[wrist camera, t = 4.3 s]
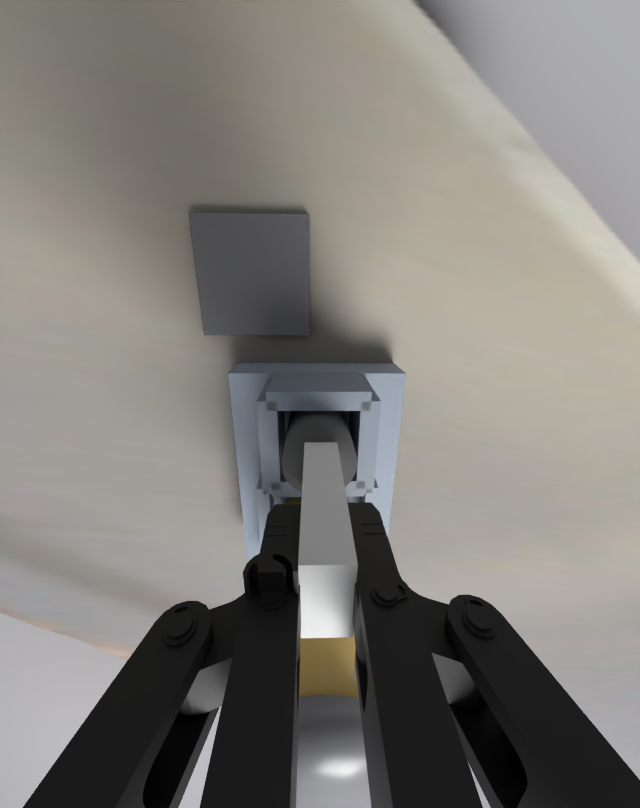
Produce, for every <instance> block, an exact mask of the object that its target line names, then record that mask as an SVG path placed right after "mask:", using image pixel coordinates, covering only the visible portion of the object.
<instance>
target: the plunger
mask: <svg viewBox="0 0 640 808" xmlns="http://www.w3.org/2000/svg"><path fill="white" fill-rule="evenodd" d="M305 442H337V444H338V450H339V456H340V462H341V468H342V474H343V479H344V485H345V487H346V486H347V485H348V484H349V483H350V482H351V480H352V479H353V477H354V475H355V473H356V469H357V456H356V452H355V449H354V445H353V441H352V438H351V434H350V431H349V427H348V423H347V420H346V416H345V413H344V411H291V413H290V417H289V423H288V428H287V434H286V439H285V445H284V450H283V456H282V464H281V465H282V471H283V474H284V477H285V478H286V480H287V481H288V483H289V484H290V485H291V486H292V487H293V488H295V489H296V490H298V491H300V492H302V482H303V463H304V444H305Z"/></svg>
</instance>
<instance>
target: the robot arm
mask: <svg viewBox="0 0 640 808" xmlns="http://www.w3.org/2000/svg"><path fill="white" fill-rule="evenodd" d="M243 578H244V587H245V593H244V594H243V595H242V596H240V597H239V598H237V599H236V600H234V601H232V602H230V603H227V604H224V605H221V606H218V607H215V608H213V609H210V610H209V609H208V608H207V606H206V605H204V604H202V603H200V602H199V601H186V602H182V603H179V604H176V605H175V606H173V607H171V608H170V609H168V610H167V611H165V612H164V613H163V614H162V615H161V616H160V618H159V619H158V620H157V621H156V622H155V623H154V624H153V626H152V627H151V629H150V630H149V632H148V633H147V634H146V636H145V637H144V639H143V640H142V641H141V643H140V644H139V646H138V647H137V648H136V650H135V651H134V653H133V654H132V655H131V657H130V658H129V660H128V661H127V662H126V664H125V665H124V667H123V668H122V669H121V671H120V672H119V674H118V675H117V676H116V678H115V679H114V681H113V682H112V683H111V685H110V686H109V688H108V689H107V690H106V692H105V693H104V695H103V696H102V698H101V699H100V700H99V702H98V703H97V704H96V706H95V707H94V709H93V710H92V711H91V713H90V714H89V716H88V717H87V719H86V720H85V721H84V723H83V724H82V725H81V727H80V728H79V730H78V731H77V732H76V734H75V735H74V737H73V738H72V739H71V741H70V742H69V744H68V745H67V746H66V748H65V749H64V751H63V752H62V753H61V755H60V756H59V758H58V759H57V760H56V762H55V763H54V765H53V766H52V767H51V769H50V770H49V772H48V773H47V774H46V776H45V777H44V779H43V780H42V782H41V783H40V784H39V786H38V787H37V789H36V790H35V791H34V793H33V794H32V795H31V797H30V798H29V800H28V801H27V802H26V804H25V805H24V807H23V808H178V807H179V804H180V802H181V800H182V797H183V795H184V792H185V790H186V787H187V785H188V782H189V780H190V777H191V775H192V773H193V770H194V768H195V765H196V763H197V761H198V758H199V756H200V753H201V751H202V748H203V746H204V744H205V741H206V739H207V736H208V734H209V731H210V729H211V727H212V724H213V722H214V719H215V717H216V714H217V712H218V709H219V707H220V706H222V708H221V712H220V717H219V721H218V726H217V731H216V735H215V740H214V744H213V749H212V754H211V758H210V763H209V767H208V772H207V777H206V781H205V786H204V790H203V795H202V800H201V804H200V808H296V792H297V759H298V726H299V693H300V639H301V638H339V637H353V630H354V638H355V646H356V650H355V664H354V679H353V680H357V685H358V694H359V703H360V712H361V720H362V729H363V738H364V747H365V756H366V764H367V773H368V782H369V791H370V800H371V808H483V807H482V804H481V801H480V798H479V795H478V792H477V789H476V786H475V783H474V779H473V776H472V773H471V770H470V767H469V764H470V766H471V768H472V770H473V772H474V774H475V777H476V779H477V781H478V783H479V785H480V787H481V789H482V791H483V792H484V795H485V796H486V799H487V800H488V803H489V805H490V807H491V808H640V780H639V779H638V777H637V776H636V775H635V774H634V773H633V771H632V770H631V769H630V768H629V767H628V765H627V764H626V763H625V762H624V761H623V759H622V758H621V757H620V756H619V755H618V753H617V752H616V751H615V750H614V749H613V747H612V746H611V745H610V744H609V743H608V741H607V740H606V739H605V738H604V737H603V735H602V734H601V733H600V732H599V731H598V729H597V728H596V727H595V726H594V725H593V723H592V722H591V721H590V720H589V719H588V717H587V716H586V715H585V714H584V713H583V711H582V710H581V709H580V708H579V707H578V705H577V704H576V703H575V702H574V701H573V699H572V698H571V697H570V696H569V695H568V693H567V692H566V691H565V690H564V689H563V687H562V686H561V685H560V684H559V683H558V681H557V680H556V679H555V678H554V677H553V675H552V674H551V673H550V672H549V671H548V669H547V668H546V667H545V666H544V665H543V663H542V662H541V661H540V660H539V659H538V657H537V656H536V655H535V654H534V653H533V651H532V650H531V649H530V648H529V647H528V645H527V644H526V643H525V642H524V640H523V639H522V638H521V637H520V636H519V634H518V633H517V632H516V631H515V630H514V628H513V627H512V626H511V625H510V624H509V622H508V621H507V620H506V619H505V618H504V616H503V615H502V614H501V613H500V612H499V611H498V610H497V609H496V608H495V607H494V606H492V605H491V604H490V603H488V602H486V601H485V600H483V599H481V598H479V597H475V596H472V595H458V596H456V597H455V598H453V599H451V601H450V603H449V605H448V604H445V603H441V602H438V601H434V600H431V599H428V598H425V597H423V596H420V595H419V594H417V593H415V592H414V591H412V590H411V589H410V588H409V587H408V585H407V584H406V583H405V582H404V581H403V580H402V579H401V577H400V575H399V572H398V569H397V566H396V563H395V560H394V556H393V553H392V550H391V547H390V543H389V540H388V537H387V535H386V531H385V527H384V526H383V521H382V518H381V514H380V512H379V511H378V510H377V508H376V507H375V506H374V505H373V504H372V503H371V502H360V503H347V497H346V491H345V485H344V479H343V474H342V468H341V462H340V456H339V450H338V444H337V442H305V444H304V463H303V482H302V501H301V504H275V505H274V507H273V508H272V509H271V510H270V512H269V513H268V514H267V519H266V524H265V529H264V534H263V539H262V544H261V549H260V554H258V555H256V556H254V557H253V558H252V559H251V560H250V561H249V562H248V563H247V565H246V567H245V569H244V571H243ZM467 760H468V761H467ZM468 762H469V764H468Z"/></svg>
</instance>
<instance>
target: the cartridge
mask: <svg viewBox="0 0 640 808" xmlns="http://www.w3.org/2000/svg"><path fill="white" fill-rule="evenodd" d="M301 501H302V497H287V499H286V501H285V503H284V504H301ZM347 503H349V500H348V499H347ZM355 650H356V646H355V638H354V630H353V637H339V638H301V639H300V693H299V726H298V759H297V792H296V808H371V800H370V791H369V782H368V773H367V764H366V756H365V747H364V738H363V729H362V720H361V712H360V703H359V694H358V685H357V680H353V679H354V664H355Z"/></svg>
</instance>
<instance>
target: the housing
mask: <svg viewBox="0 0 640 808" xmlns="http://www.w3.org/2000/svg"><path fill="white" fill-rule="evenodd" d="M405 377H406V373H405V372H404V371H402V370H401V369H400V368H399V367H398V366H396V365H395V364H394V363H238V364H237V365H236V366H235V367H234V368H233V369H232V370H231V371H230V372H229V373H228V379H229V389H230V399H231V409H232V418H233V428H234V438H235V447H236V457H237V467H238V477H239V486H240V496H241V506H242V516H243V525H244V535H245V545H246V554H247V559H252V558H253V557H254V556H256V555H258V554H260V549H261V544H262V539H263V534H264V529H265V524H266V519H267V514H268V513H269V512H270V510H271V509H272V508H273V507H274V505H275V504H284V503H285V501H286V499H287V497H302V492H300V491H298V490H296V489H295V488H293V487H292V486H291V485H290V484H289V483H288V481H287V480H286V478H285V477H284V474H283V471H282V465H281V464H282V456H283V450H284V445H285V439H286V434H287V428H288V423H289V417H290V413H291V411H344V413H345V416H346V420H347V423H348V427H349V431H350V434H351V438H352V441H353V445H354V449H355V452H356V456H357V469H356V473H355V475H354V477H353V479H352V480H351V482H350V483H349V484H348V485H347V486H346V487H345V491H346V497H347V499H348V500H349V503H360V502H371V503H372V504H373V505H374V506H375V507H376V508H377V510H378V511H379V512H380V514H381V518H382V521H383V526H384V527H385V531H386V535H387V537H388V531H389V522H390V513H391V504H392V495H393V486H394V477H395V468H396V458H397V449H398V440H399V431H400V422H401V413H402V404H403V395H404V386H405Z"/></svg>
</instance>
